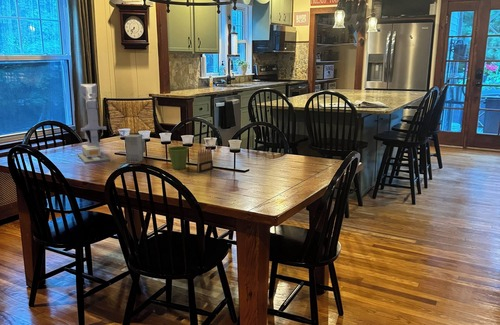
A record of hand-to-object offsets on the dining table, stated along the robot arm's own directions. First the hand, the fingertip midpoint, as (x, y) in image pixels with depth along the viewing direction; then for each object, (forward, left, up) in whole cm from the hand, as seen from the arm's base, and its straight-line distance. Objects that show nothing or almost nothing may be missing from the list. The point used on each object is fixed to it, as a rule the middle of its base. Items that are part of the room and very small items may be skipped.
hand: (94, 142), depth 275 cm
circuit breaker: (+16, +20, -10) cm, 28 cm away
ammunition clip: (+63, +44, -10) cm, 78 cm away
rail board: (-1, -2, -10) cm, 10 cm away
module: (0, -2, -8) cm, 8 cm away
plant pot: (+50, +34, -10) cm, 62 cm away
